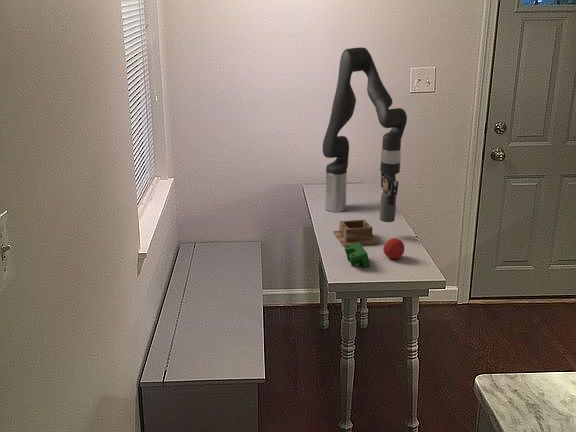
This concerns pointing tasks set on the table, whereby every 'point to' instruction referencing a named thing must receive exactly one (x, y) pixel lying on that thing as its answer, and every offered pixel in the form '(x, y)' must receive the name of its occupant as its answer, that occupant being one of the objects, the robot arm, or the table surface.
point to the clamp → (357, 254)
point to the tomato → (394, 248)
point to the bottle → (387, 207)
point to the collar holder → (355, 233)
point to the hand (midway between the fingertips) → (388, 201)
